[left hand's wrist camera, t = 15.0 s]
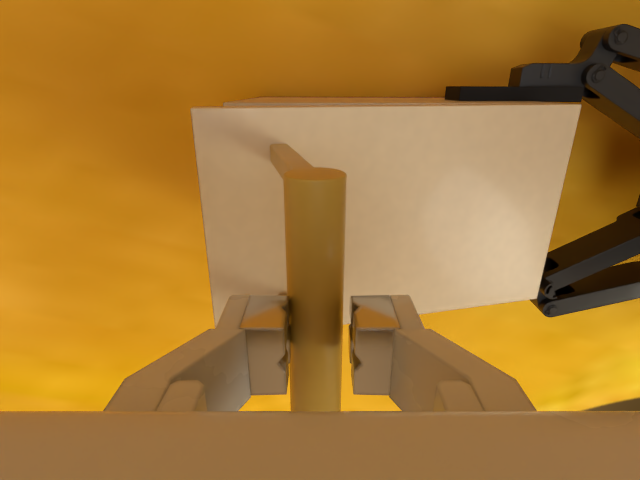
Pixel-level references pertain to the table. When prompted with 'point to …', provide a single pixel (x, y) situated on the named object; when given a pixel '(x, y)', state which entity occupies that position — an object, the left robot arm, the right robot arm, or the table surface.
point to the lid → (376, 212)
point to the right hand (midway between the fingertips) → (441, 185)
